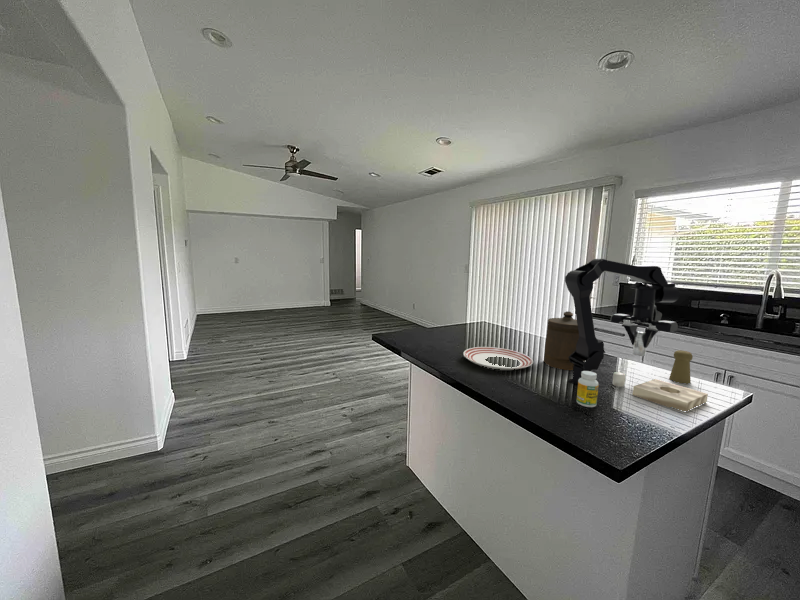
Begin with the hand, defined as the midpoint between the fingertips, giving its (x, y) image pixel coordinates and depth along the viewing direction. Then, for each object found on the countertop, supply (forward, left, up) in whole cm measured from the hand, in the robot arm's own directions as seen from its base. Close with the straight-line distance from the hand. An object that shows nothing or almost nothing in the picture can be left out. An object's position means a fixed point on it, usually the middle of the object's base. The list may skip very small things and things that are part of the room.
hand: (639, 346), depth 120 cm
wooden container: (-6, +24, -13) cm, 28 cm away
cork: (+16, -7, -13) cm, 22 cm away
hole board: (-7, -13, -13) cm, 20 cm away
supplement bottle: (-34, -3, -13) cm, 37 cm away
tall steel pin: (0, 0, -3) cm, 3 cm away
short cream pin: (-9, +1, -13) cm, 16 cm away
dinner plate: (-29, +38, -13) cm, 50 cm away
